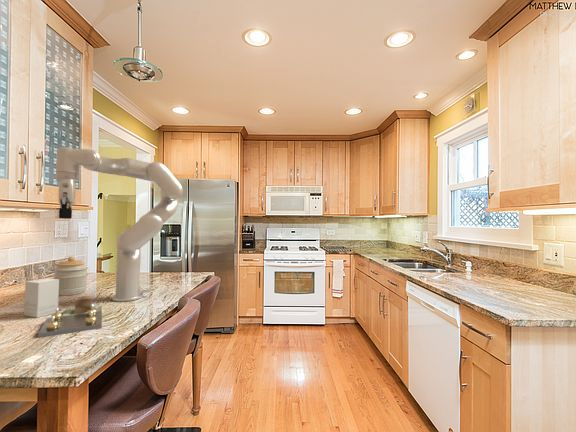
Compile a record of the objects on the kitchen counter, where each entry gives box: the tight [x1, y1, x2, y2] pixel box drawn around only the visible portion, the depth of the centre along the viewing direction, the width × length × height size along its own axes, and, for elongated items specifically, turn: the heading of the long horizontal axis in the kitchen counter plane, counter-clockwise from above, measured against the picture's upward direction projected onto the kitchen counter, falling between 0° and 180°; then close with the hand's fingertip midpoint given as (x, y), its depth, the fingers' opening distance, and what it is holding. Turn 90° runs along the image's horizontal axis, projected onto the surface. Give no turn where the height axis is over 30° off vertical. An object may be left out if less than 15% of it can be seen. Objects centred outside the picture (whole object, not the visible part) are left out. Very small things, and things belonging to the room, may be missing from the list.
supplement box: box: [23, 277, 60, 318], centre depth 108 cm, size 7×7×13 cm
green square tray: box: [62, 295, 103, 316], centre depth 112 cm, size 12×12×6 cm
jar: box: [53, 256, 88, 296], centre depth 141 cm, size 13×13×18 cm
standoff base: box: [37, 303, 103, 338], centre depth 97 cm, size 16×16×5 cm
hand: (65, 218), depth 120 cm, fingers open, 9 cm apart
